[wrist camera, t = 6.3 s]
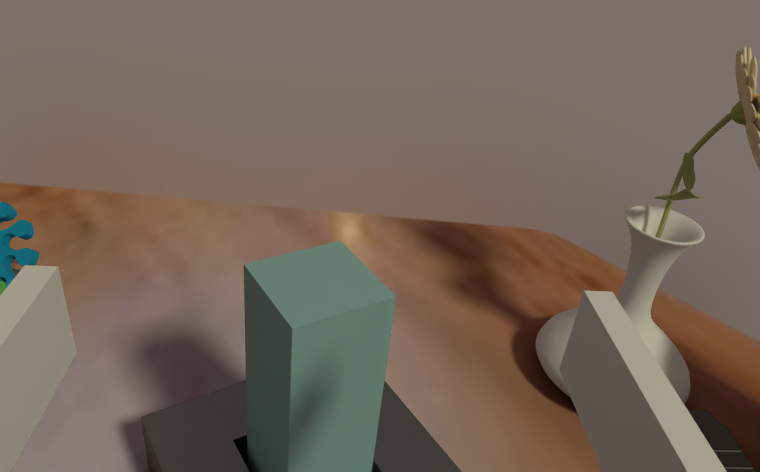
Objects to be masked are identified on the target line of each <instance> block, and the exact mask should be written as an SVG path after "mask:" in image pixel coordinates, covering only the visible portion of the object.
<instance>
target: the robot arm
mask: <svg viewBox="0 0 760 472" xmlns="http://www.w3.org/2000/svg"><path fill="white" fill-rule="evenodd" d="M76 354H77V353H76V349H75V344H74V339H73V334H72V330H71V325H70V320H69V316H68V311H67V306H66V301H65V297H64V292H63V287H62V283H61V278H60V273H59V268H58V267H54V266H32V265H25V266H24V267H23V268H22V269H21V271H20V272H19V273H18V274H17V276H16V277H15V278H14V279H13V280H12V282H11V283H10V284H9V285H8V287H7V288H6V289H5V290H4V292H3V293H2V294H1V295H0V472H11V471H12V469H13V467H14V466H15V464H16V462H17V460H18V458H19V457H20V455H21V453H22V451H23V449H24V448H25V446H26V444H27V442H28V440H29V439H30V437H31V435H32V433H33V431H34V430H35V428H36V426H37V424H38V422H39V421H40V419H41V417H42V415H43V413H44V412H45V410H46V408H47V406H48V404H49V403H50V401H51V399H52V397H53V395H54V394H55V392H56V390H57V388H58V386H59V385H60V383H61V381H62V379H63V377H64V376H65V374H66V372H67V370H68V368H69V367H70V365H71V363H72V361H73V359H74V358H75V356H76ZM559 371H560V374H561V376H562V378H563V380H564V383H565V385H566V387H567V390H568V392H569V394H570V397H571V399H572V401H573V404H574V406H575V408H576V411H577V413H578V415H579V418H580V420H581V422H582V425H583V427H584V429H585V432H586V434H587V436H588V439H589V441H590V443H591V446H592V448H593V450H594V453H595V455H596V457H597V460H598V462H599V464H600V467H601V469H602V471H603V472H757V471H754V470H753V466H752V464H751V463H750V461H749V460H748V458H747V457H746V455H745V454H742V452H741V448H740V447H739V445H738V444H737V442H736V441H735V439H734V438H733V436H732V435H731V434H730V432H729V431H728V429H727V428H726V427H725V426H723V425H722V424H721V423H720V422H719V421H718V420H717V419H715V418H714V417H713V416H712V415H711V414H710V413H708V412H707V411H706V410H687V408H686V407H685V405H684V404H683V402H682V400H681V399H680V397H679V396H678V394H677V393H676V391H675V389H674V388H673V386H672V385H671V383H670V382H669V380H668V378H667V377H666V375H665V374H664V372H663V371H662V369H661V367H660V366H659V364H658V363H657V361H656V360H655V358H654V356H653V355H652V353H651V352H650V350H649V349H648V347H647V345H646V344H645V342H644V341H643V339H642V338H641V336H640V334H639V333H638V331H637V330H636V328H635V327H634V325H633V323H632V322H631V320H630V319H629V317H628V316H627V314H626V312H625V311H624V309H623V308H622V306H621V304H620V303H619V301H618V300H617V298H616V297H615V295H614V293H613V292H603V291H584V293H583V296H582V299H581V302H580V305H579V308H578V312H577V315H576V318H575V321H574V324H573V327H572V330H571V334H570V337H569V340H568V343H567V346H566V349H565V352H564V356H563V359H562V362H561V365H560V368H559Z"/></svg>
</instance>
